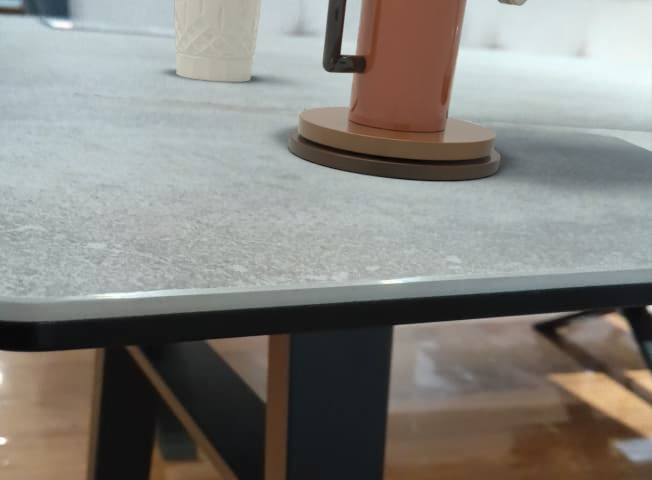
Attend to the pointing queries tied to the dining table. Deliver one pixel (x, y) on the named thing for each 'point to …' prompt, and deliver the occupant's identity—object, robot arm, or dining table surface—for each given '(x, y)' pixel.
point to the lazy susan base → (392, 162)
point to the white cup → (216, 38)
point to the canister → (398, 84)
